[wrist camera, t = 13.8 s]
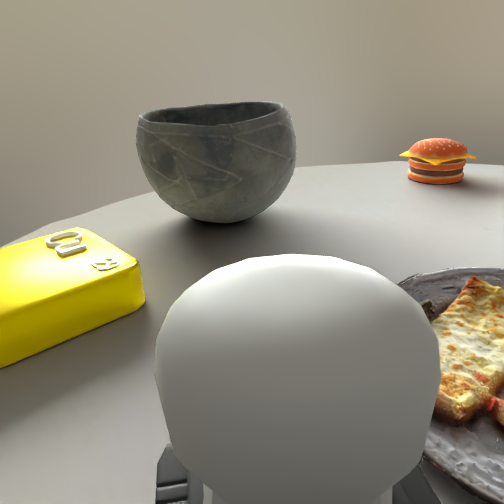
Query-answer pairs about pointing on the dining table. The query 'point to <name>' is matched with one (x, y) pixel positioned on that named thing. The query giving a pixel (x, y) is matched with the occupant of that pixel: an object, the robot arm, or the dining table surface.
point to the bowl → (218, 157)
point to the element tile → (62, 290)
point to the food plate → (467, 375)
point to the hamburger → (437, 161)
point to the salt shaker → (297, 381)
